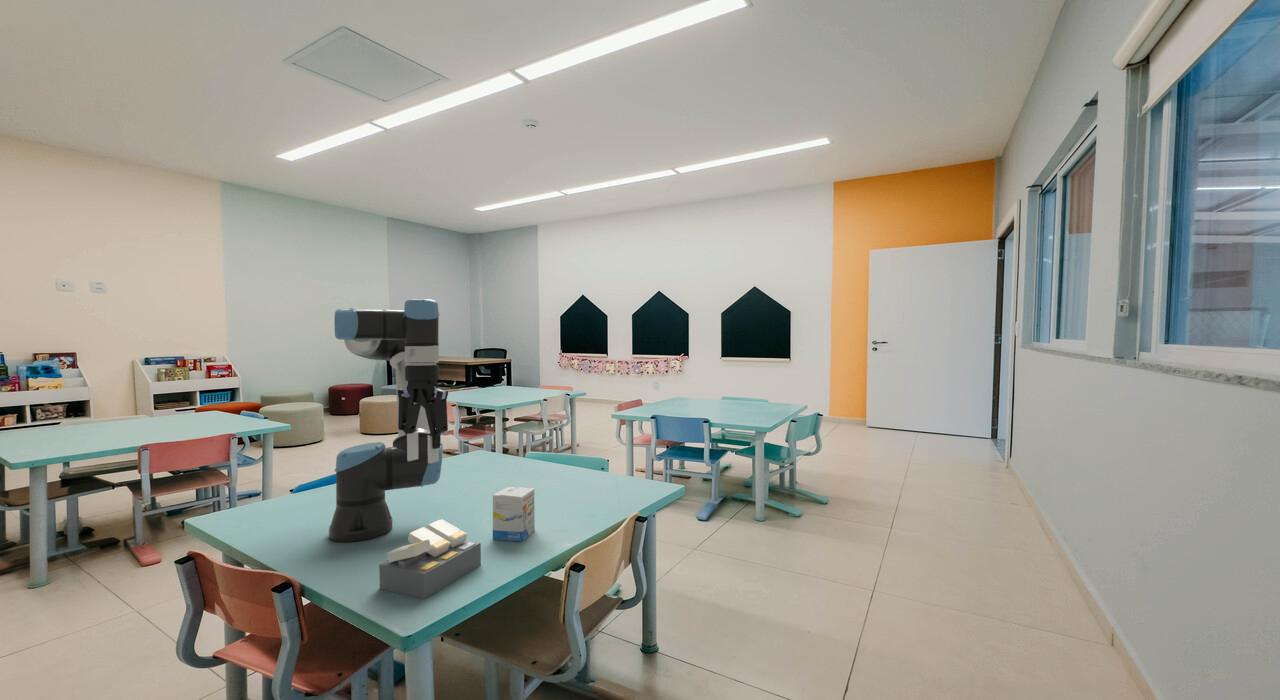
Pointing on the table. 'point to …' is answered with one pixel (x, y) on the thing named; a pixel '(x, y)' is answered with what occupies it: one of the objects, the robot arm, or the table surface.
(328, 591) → the table surface
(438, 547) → the rocker
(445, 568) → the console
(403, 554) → the rocker
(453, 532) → the rocker
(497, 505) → the ink box
